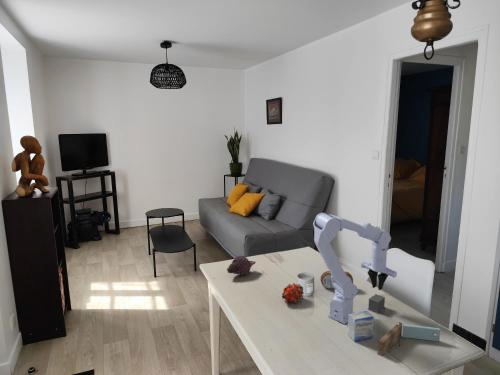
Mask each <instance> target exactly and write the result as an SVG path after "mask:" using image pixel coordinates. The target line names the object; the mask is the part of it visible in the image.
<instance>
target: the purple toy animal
mask: <svg viewBox="0 0 500 375" xmlns="http://www.w3.org/2000/svg"><path fill="white" fill-rule="evenodd" d="M255 264H256V261H253V260H249V259H248V258H247V256H245V255H238V256H236V257H234V259H233V260H232V261H231V263H230V264H228V267H227V268H226V272H227V273H228V274H233V275H240V276H245V275H248V274H249V273H250V271H251V268H252V267H253V266H254V265H255Z"/></svg>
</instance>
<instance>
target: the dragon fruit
mask: <svg viewBox="0 0 500 375" xmlns="http://www.w3.org/2000/svg"><path fill="white" fill-rule="evenodd" d="M304 296H305V295H304V287H303V286H302V285H301V284H300V283H299V284H296V283H294V282H292V284H290V283H289V284H288V285H287V286H285V287H284V288H283V292H282V294H281V299H282V300H284V302H285V303H291V302H292V303H294V304H297V303H298V302H299V300H304V299H303V298H304Z"/></svg>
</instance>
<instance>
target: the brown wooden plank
mask: <svg viewBox="0 0 500 375" xmlns="http://www.w3.org/2000/svg"><path fill="white" fill-rule="evenodd" d="M401 338H403V322H400V321H398V322H397V324H395V325H394V326H393V327H392V328H391V329H390V330H389V331H388V332H387V333H386V334H384V335H383V336H382V337H381V338H380V339H379V340H378V342H377V344H378V345H377V355H379V356H381V357H383V356H384V354H386V353H387V352H388V351H389V350H390V349H391V348H392V347H393V346H394V345H395V344H397V342H398V341H399V340H400V339H401Z"/></svg>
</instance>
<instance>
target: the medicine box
mask: <svg viewBox="0 0 500 375" xmlns="http://www.w3.org/2000/svg"><path fill="white" fill-rule="evenodd" d="M374 317H375V316H373V314H371V313H370V312H369V311H368V310H365V311H359V312H354V313H353V314H348V322H347V335H348V336H349V337H350V339H352V341H353V342H359V341H363V340H367V339H372V338H374V319H375V318H374Z"/></svg>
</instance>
